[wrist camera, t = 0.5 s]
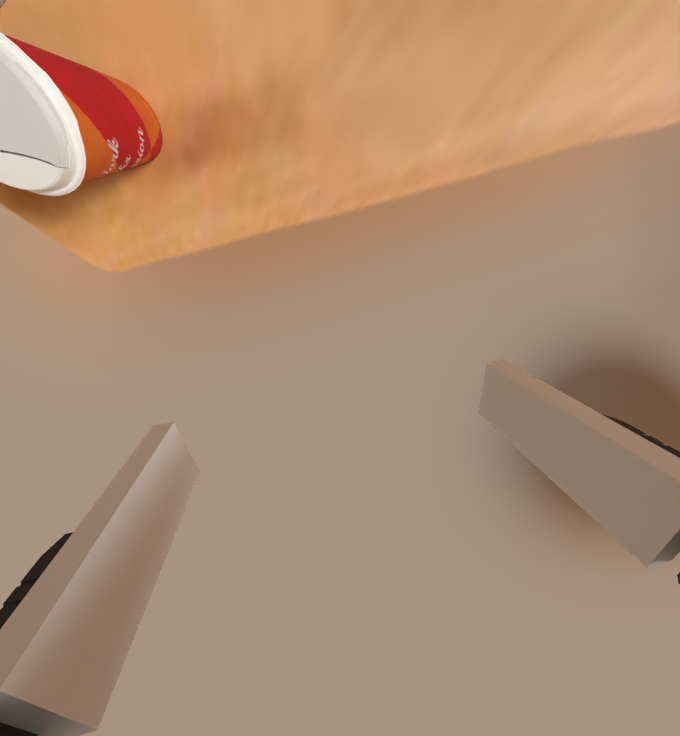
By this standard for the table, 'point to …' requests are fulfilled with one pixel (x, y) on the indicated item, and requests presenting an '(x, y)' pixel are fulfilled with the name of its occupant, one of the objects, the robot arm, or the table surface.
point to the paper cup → (67, 122)
